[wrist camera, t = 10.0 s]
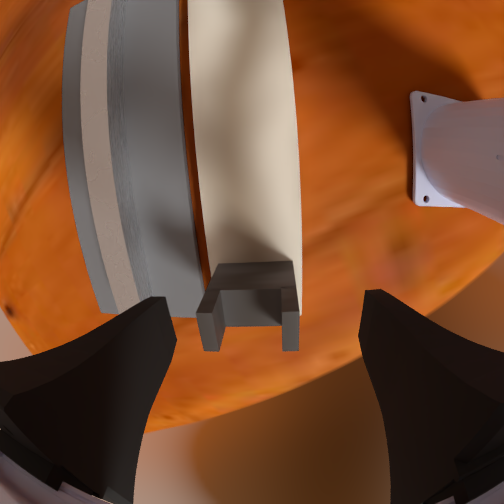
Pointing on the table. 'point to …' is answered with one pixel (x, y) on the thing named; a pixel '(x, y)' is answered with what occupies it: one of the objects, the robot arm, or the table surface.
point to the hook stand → (246, 167)
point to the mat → (140, 155)
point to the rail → (110, 153)
